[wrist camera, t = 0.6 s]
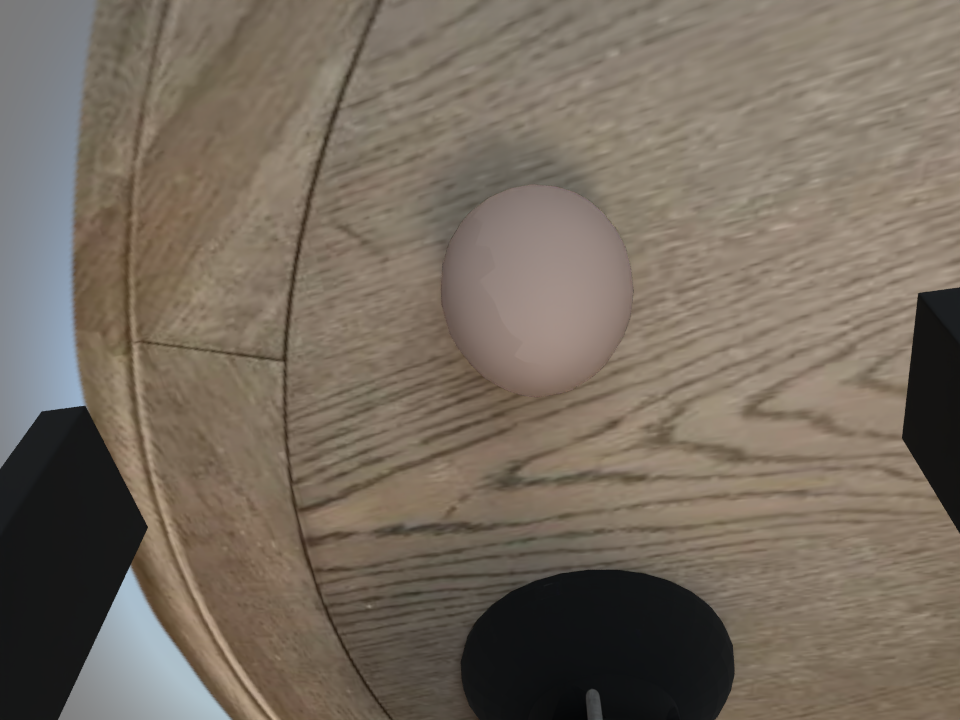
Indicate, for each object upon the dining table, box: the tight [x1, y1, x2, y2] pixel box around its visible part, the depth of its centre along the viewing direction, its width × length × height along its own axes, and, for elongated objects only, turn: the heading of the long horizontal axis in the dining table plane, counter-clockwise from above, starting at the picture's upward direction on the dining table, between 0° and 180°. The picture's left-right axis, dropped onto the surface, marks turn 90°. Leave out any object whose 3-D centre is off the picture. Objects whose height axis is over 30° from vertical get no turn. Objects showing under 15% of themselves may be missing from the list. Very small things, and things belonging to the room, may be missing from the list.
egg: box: [441, 184, 634, 397], centre depth 30 cm, size 7×7×9 cm
